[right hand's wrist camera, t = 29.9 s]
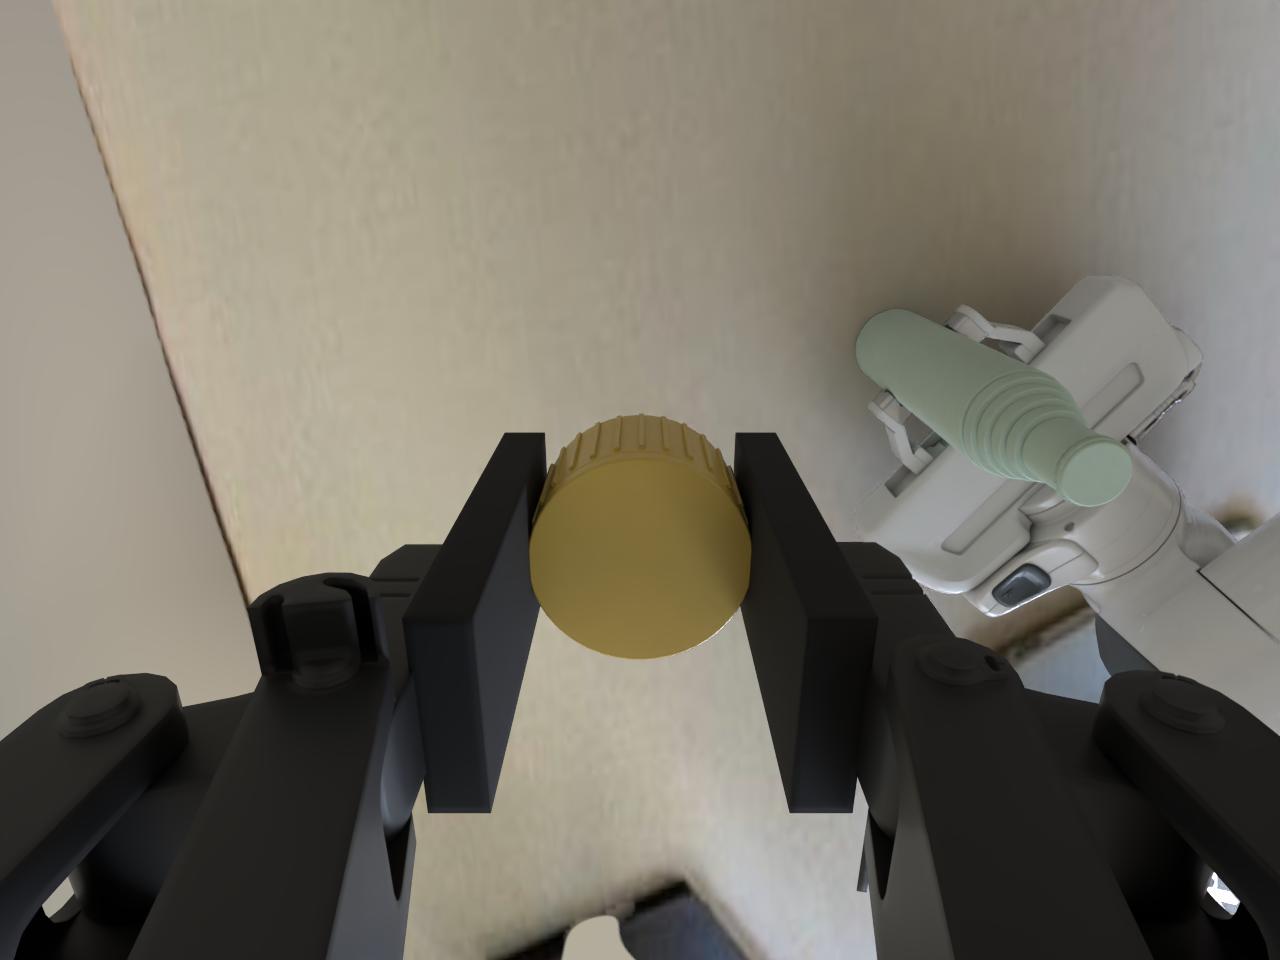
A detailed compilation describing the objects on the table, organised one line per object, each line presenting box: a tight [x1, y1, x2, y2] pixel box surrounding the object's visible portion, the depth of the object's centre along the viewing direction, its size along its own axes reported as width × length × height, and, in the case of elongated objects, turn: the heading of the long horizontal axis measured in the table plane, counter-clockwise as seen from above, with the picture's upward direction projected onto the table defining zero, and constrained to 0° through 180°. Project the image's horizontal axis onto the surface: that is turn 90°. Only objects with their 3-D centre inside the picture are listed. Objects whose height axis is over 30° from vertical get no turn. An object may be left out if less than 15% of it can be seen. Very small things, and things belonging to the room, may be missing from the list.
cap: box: [529, 414, 752, 660], centre depth 13 cm, size 4×4×2 cm
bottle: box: [855, 309, 1132, 506], centre depth 37 cm, size 5×5×23 cm
